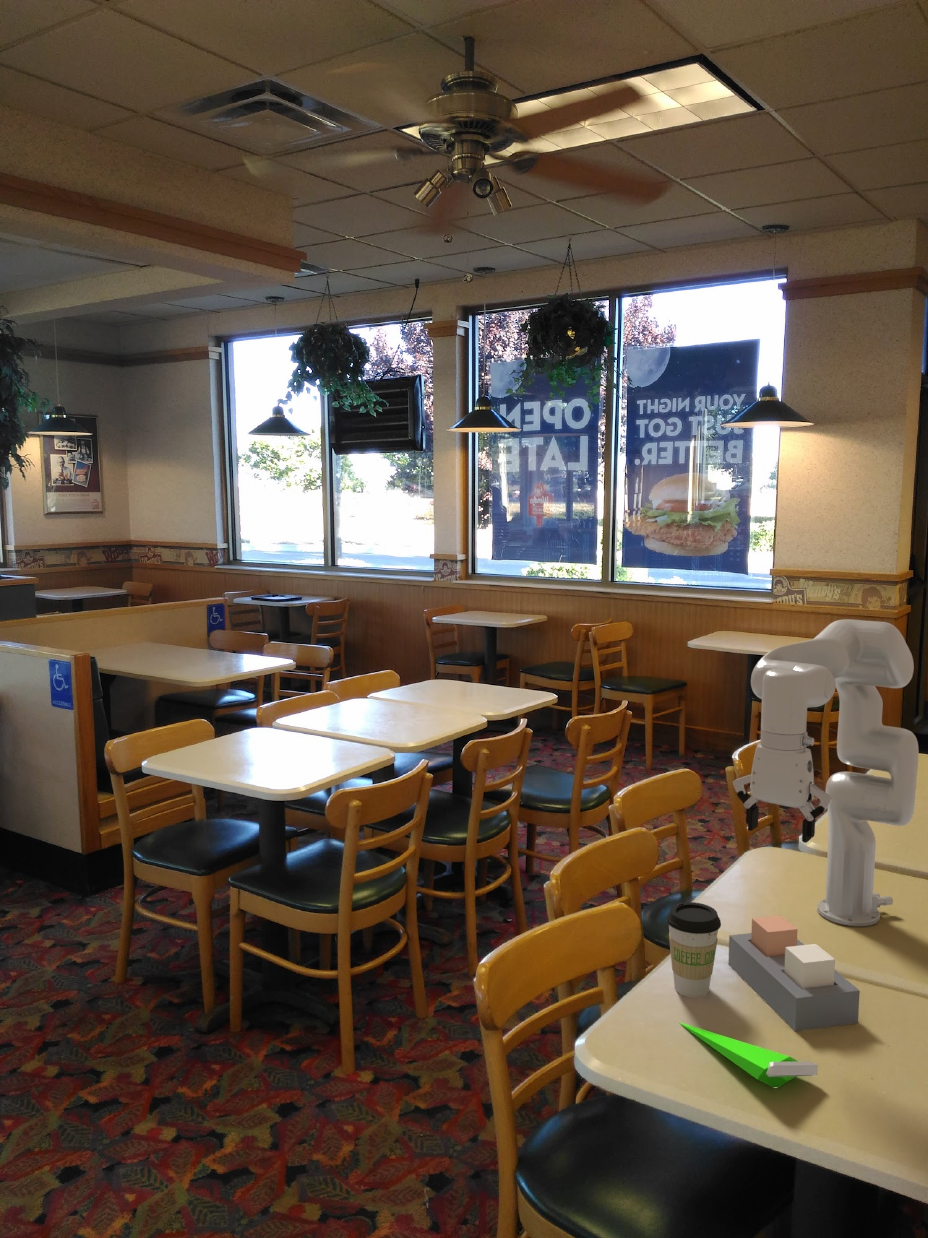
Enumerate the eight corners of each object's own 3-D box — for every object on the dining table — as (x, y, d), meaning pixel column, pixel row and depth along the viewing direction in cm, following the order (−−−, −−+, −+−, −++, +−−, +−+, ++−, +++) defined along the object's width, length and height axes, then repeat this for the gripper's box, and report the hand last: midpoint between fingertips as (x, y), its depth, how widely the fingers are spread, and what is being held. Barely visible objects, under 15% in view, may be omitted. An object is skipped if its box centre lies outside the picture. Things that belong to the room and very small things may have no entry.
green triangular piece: (650, 1043, 163) (768, 1097, 142) (654, 1010, 164) (772, 1059, 143) (696, 1043, 169) (816, 1095, 148) (700, 1012, 170) (820, 1059, 149)
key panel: (784, 958, 189) (785, 929, 188) (858, 1023, 166) (859, 990, 165) (728, 964, 187) (729, 935, 186) (795, 1031, 163) (796, 998, 163)
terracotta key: (779, 945, 185) (780, 915, 184) (796, 959, 179) (797, 929, 178) (750, 948, 184) (751, 918, 183) (767, 963, 178) (768, 932, 177)
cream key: (814, 975, 173) (815, 943, 173) (833, 992, 167) (835, 959, 167) (784, 978, 172) (785, 947, 171) (802, 995, 166) (803, 963, 165)
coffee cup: (688, 1008, 171) (690, 928, 169) (653, 983, 180) (655, 907, 178) (730, 994, 175) (733, 916, 174) (694, 971, 184) (696, 896, 182)
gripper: (840, 743, 165) (836, 839, 167) (743, 728, 175) (740, 819, 178) (826, 752, 159) (822, 851, 161) (727, 737, 170) (724, 830, 172)
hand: (779, 834), depth 169 cm, fingers open, 9 cm apart
